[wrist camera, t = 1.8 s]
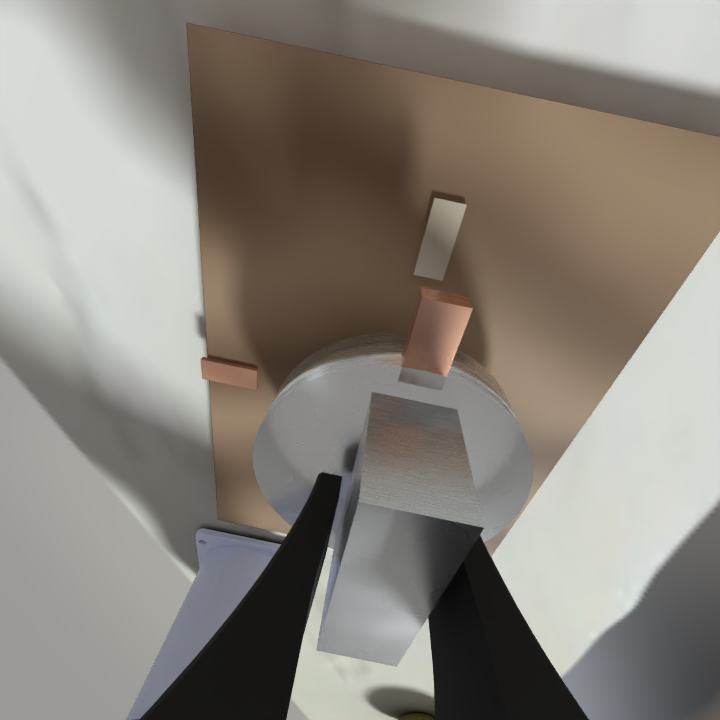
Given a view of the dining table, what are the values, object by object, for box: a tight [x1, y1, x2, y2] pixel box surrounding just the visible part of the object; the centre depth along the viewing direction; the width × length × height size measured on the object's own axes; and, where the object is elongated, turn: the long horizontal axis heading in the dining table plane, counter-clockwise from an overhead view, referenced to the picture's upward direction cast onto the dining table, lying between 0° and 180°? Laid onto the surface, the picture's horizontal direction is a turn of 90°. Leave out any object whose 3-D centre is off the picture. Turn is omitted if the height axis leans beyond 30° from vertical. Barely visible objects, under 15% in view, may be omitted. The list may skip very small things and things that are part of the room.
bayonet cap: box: [252, 287, 534, 667], centre depth 10 cm, size 11×9×6 cm
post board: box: [187, 23, 720, 556], centre depth 14 cm, size 22×16×3 cm
